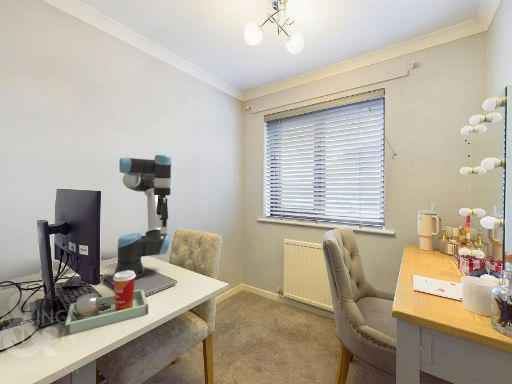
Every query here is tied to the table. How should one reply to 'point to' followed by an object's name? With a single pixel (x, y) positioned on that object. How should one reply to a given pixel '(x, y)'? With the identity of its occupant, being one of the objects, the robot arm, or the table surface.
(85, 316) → the translucent rounded dome
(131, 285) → the coffee cup
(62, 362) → the table surface
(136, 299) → the tray
